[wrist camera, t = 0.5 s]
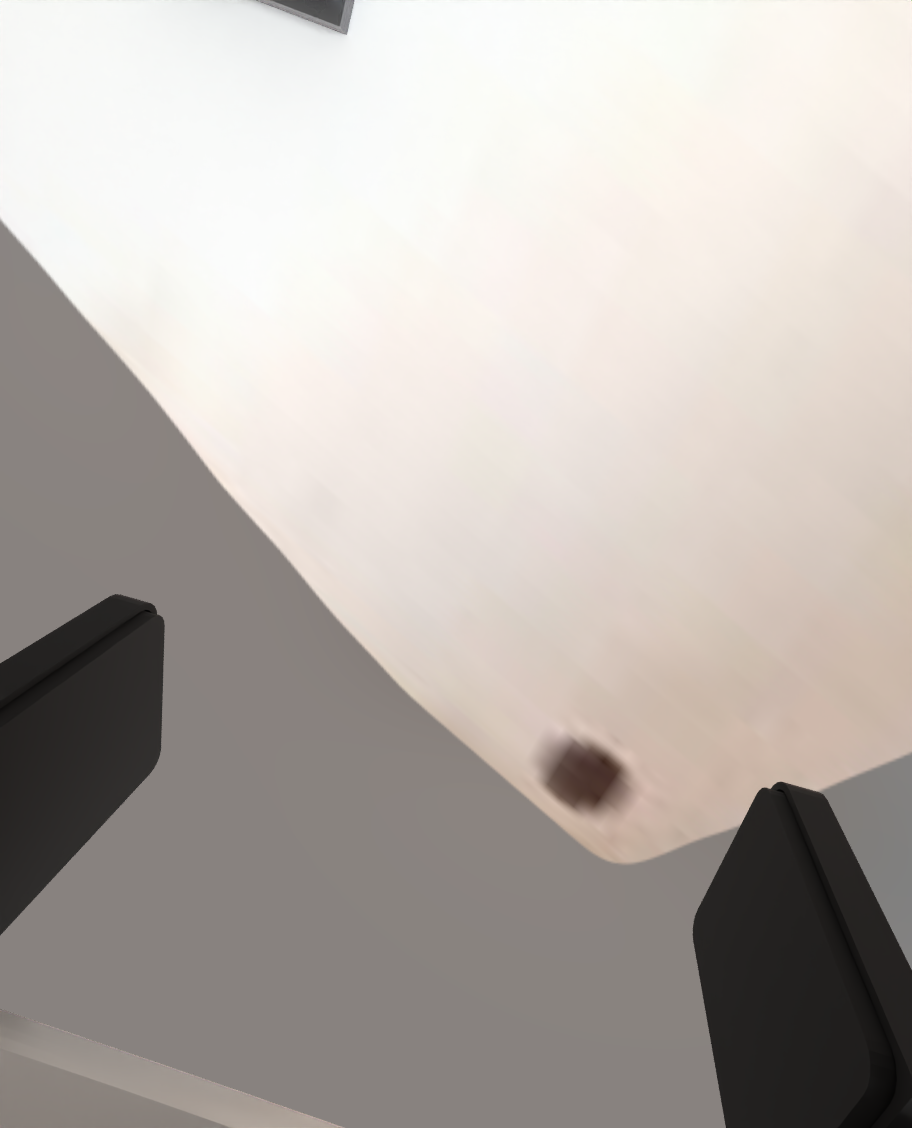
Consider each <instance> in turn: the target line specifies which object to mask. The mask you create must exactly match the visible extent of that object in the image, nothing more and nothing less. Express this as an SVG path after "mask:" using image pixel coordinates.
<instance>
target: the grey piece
mask: <svg viewBox="0 0 912 1128" xmlns="http://www.w3.org/2000/svg"><path fill="white" fill-rule="evenodd" d="M257 1H260V2H262V3H265V4H268V5H270V6H273V7H276V8H278V9H281V10H283V11H286V12H289V13H291V14H294V15H297V16H299V17H302V18H304V19H307V20H310V21H312V22H315V23H318V24H320V25H323V26H325V27H328V28H331V29H333V30H336V31H339V32H341V33H344V34H346V35H347V31H348V26H349V22H350V17H351V13H352V8H353V4H354V0H257Z"/></svg>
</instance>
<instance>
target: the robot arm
mask: <svg viewBox="0 0 912 1128" xmlns="http://www.w3.org/2000/svg"><path fill="white" fill-rule="evenodd" d="M163 657H164V620H163V618H162V617H161V616H160V615H157V611H156V608H155V606H154V605H152V604H151V603H148V602H144V601H140V600H137V599H134V598H130V597H126V596H123V595H118V594H115V595H112V596H110V597H108V598H106V599H105V600H103V601H101V602H100V603H98V604H97V605H95V606H93V607H92V608H90V609H88V610H87V611H85V612H84V613H82V614H80V615H79V616H77V617H75V618H74V619H72V620H71V621H69V622H67V623H66V624H64V625H62V626H61V627H59V628H58V629H56V630H54V631H53V632H51V633H49V634H48V635H46V636H45V637H43V638H41V639H39V640H38V641H36V642H35V643H33V644H31V645H30V646H28V647H26V648H25V649H23V650H22V651H20V652H18V653H17V654H15V655H13V656H12V657H10V658H9V659H7V660H5V661H4V662H2V663H0V935H1V934H2V933H3V932H4V931H5V930H6V929H7V927H8V926H9V925H10V924H11V923H12V922H13V921H14V920H15V919H16V918H17V917H18V915H20V913H21V912H22V911H23V910H24V909H25V908H26V907H27V906H28V905H29V904H30V903H31V902H32V900H33V899H34V898H35V897H36V896H37V895H38V894H39V893H40V892H41V891H42V890H43V889H44V887H45V886H46V885H47V884H48V883H49V882H50V881H51V880H52V879H53V878H54V877H55V876H56V874H57V873H58V872H59V871H60V870H61V869H62V868H63V867H64V866H65V865H66V864H67V863H68V862H69V860H70V859H71V858H72V857H73V856H74V855H75V854H76V853H77V852H78V851H79V850H80V849H81V847H82V846H83V845H84V844H85V843H86V842H87V841H88V840H89V839H90V838H91V837H92V835H94V834H95V832H96V831H97V830H98V829H99V828H100V827H101V826H102V825H103V824H104V823H105V822H106V821H107V819H108V818H109V817H110V816H111V815H112V814H113V813H114V812H115V811H116V810H117V809H118V808H119V806H120V805H121V804H122V803H123V802H124V801H125V800H126V799H127V798H128V797H129V796H130V795H131V793H133V791H134V790H135V789H136V788H137V787H138V786H139V785H140V784H141V783H142V782H143V781H144V780H145V778H146V777H147V776H148V775H149V774H150V773H151V772H152V770H153V769H154V767H155V765H156V763H157V761H158V759H159V756H160V751H161V728H162V727H161V726H162V693H163V660H164V659H163ZM693 942H694V947H695V952H696V959H697V964H698V970H699V976H700V982H701V987H702V993H703V999H704V1004H705V1010H706V1016H707V1022H708V1027H709V1033H710V1038H711V1044H712V1050H713V1056H714V1062H715V1067H716V1073H717V1079H718V1084H719V1090H720V1096H721V1102H722V1107H723V1113H724V1119H725V1125H726V1128H912V970H911V968H910V966H909V964H908V962H907V960H906V958H905V956H904V954H903V952H902V950H901V948H900V946H899V944H898V942H897V940H896V938H895V935H894V933H893V932H892V929H891V927H890V925H889V924H888V922H887V919H886V917H885V915H884V913H883V911H882V909H881V907H880V905H879V903H878V902H877V899H876V897H875V895H874V893H873V891H872V890H871V887H870V885H869V883H868V881H867V879H866V877H865V875H864V873H863V871H862V869H861V867H860V865H859V863H858V861H857V859H856V857H855V855H854V853H853V851H852V849H851V847H850V845H849V843H848V841H847V839H846V837H845V835H844V833H843V831H842V829H841V827H840V825H839V823H838V821H837V819H836V817H835V815H834V813H833V811H832V809H831V807H830V805H829V802H828V800H827V799H826V798H825V796H824V795H823V794H821V793H819V792H816V791H813V790H809V789H806V788H802V787H798V786H795V785H791V784H788V783H784V782H777V783H776V784H775V785H773V787H772V788H771V789H768V788H762V789H761V790H759V792H758V793H757V795H756V797H755V799H754V800H753V802H752V804H751V806H750V808H749V810H748V812H747V814H746V816H745V818H744V820H743V822H742V824H741V826H740V828H739V830H738V832H737V834H736V836H735V838H734V840H733V842H732V844H731V846H730V848H729V850H728V852H727V854H726V855H725V857H724V860H723V861H722V863H721V865H720V867H719V869H718V871H717V873H716V875H715V877H714V879H713V881H712V883H711V885H710V887H709V889H708V891H707V893H706V895H705V897H704V899H703V901H702V902H701V905H700V906H699V908H698V911H697V913H696V915H695V919H694V925H693ZM0 1128H343V1127H341V1126H338V1125H335V1124H332V1123H329V1122H326V1121H324V1120H321V1119H318V1118H315V1117H312V1116H309V1115H306V1114H304V1113H301V1112H298V1111H295V1110H292V1109H289V1108H286V1107H283V1106H281V1105H278V1104H274V1103H272V1102H269V1101H266V1100H263V1099H260V1098H258V1097H255V1096H252V1095H249V1094H246V1093H243V1092H240V1091H237V1090H235V1089H232V1088H229V1087H226V1086H223V1085H220V1084H217V1083H214V1082H212V1081H209V1080H206V1079H203V1078H200V1077H197V1076H194V1075H191V1074H188V1073H186V1072H183V1071H180V1070H177V1069H174V1068H171V1067H168V1066H166V1065H163V1064H160V1063H157V1062H154V1061H151V1060H148V1059H145V1058H142V1057H139V1056H136V1055H133V1054H130V1053H127V1052H125V1051H122V1050H119V1049H116V1048H113V1047H110V1046H107V1045H104V1044H101V1043H98V1042H95V1041H93V1040H90V1039H87V1038H84V1037H81V1036H78V1035H75V1034H72V1033H69V1032H66V1031H63V1030H60V1029H57V1028H55V1027H52V1026H48V1025H46V1024H43V1023H40V1022H37V1021H34V1020H31V1019H28V1018H25V1017H22V1016H19V1015H16V1014H13V1013H11V1012H8V1011H5V1010H2V1009H0Z"/></svg>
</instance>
